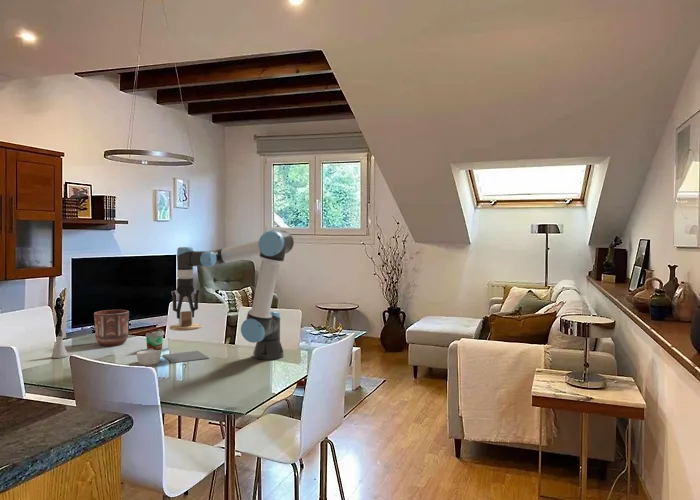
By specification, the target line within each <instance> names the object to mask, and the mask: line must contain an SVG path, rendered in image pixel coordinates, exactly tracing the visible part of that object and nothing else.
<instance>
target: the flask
mask: <svg viewBox="0 0 700 500" xmlns="http://www.w3.org/2000/svg"><path fill="white" fill-rule="evenodd" d="M55 339H56V342H55V347H54V349H53V352H52V354H51V358H53V359H62V358H66V357H69V353H68V352H67V350H66V347H65V344H64V340H63V339H64V336H56V337H55Z"/></svg>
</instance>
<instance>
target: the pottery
mask: <svg viewBox="0 0 700 500" xmlns="http://www.w3.org/2000/svg"><path fill="white" fill-rule="evenodd" d="M93 318H94V319H93V320H94V330H95V331H94V332H95V335H94V336H95V340H96V342H97V343H98V344H99V345H100V346H102V347H117V346H122V345H123V344H125V343H126V341H127V340H128V338H129V320H130V319H129V318H130V311H129V310H128V309H127V310H126V309H106V310H99V311H95V312H94V313H93Z"/></svg>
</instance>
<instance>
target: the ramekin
mask: <svg viewBox="0 0 700 500" xmlns="http://www.w3.org/2000/svg"><path fill="white" fill-rule="evenodd" d="M161 354H162V350H160V351H159V350H147V349H146V350H140V351H137V352H136V357H137V363H138V364H139V365H141V364H143V365H142V366H152V364H153V365H157V364H159V362H160V361H161V356H162V355H161Z"/></svg>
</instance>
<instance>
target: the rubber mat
mask: <svg viewBox="0 0 700 500" xmlns="http://www.w3.org/2000/svg"><path fill="white" fill-rule="evenodd" d="M163 356H164V358H165V359H166V360H167V361H168V362H170V363H171V364H176V363H177V364H179V363H185V362H195V361H201V360H208V359H210V356H207V355H206V354H204V353H202V352H201V351H200V350H191V351H183V352H175V353H167V354H162V357H163Z"/></svg>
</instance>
